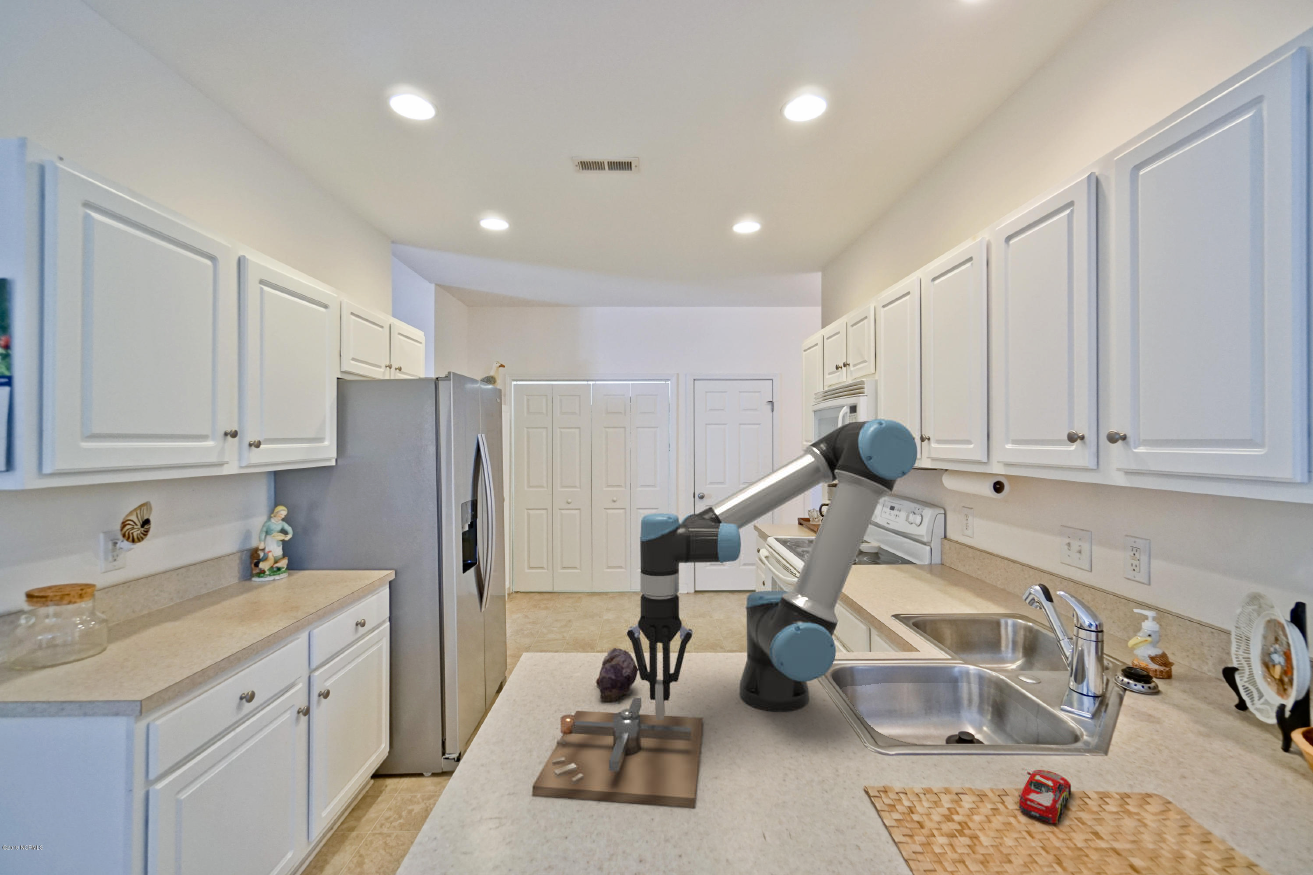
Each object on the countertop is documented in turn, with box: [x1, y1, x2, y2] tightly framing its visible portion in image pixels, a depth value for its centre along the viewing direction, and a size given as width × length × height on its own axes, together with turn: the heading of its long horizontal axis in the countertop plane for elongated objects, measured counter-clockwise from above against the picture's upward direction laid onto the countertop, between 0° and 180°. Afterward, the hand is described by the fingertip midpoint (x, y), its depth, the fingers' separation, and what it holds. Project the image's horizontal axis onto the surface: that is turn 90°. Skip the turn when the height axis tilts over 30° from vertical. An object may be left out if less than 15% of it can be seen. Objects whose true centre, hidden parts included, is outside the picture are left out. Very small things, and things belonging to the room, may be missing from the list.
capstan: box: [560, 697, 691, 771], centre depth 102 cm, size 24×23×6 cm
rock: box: [595, 647, 639, 703], centre depth 128 cm, size 12×9×10 cm
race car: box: [1018, 769, 1072, 824], centre depth 88 cm, size 13×5×4 cm, turn 134°
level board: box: [531, 710, 704, 809], centre depth 101 cm, size 26×26×2 cm
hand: (660, 715), depth 109 cm, fingers closed
